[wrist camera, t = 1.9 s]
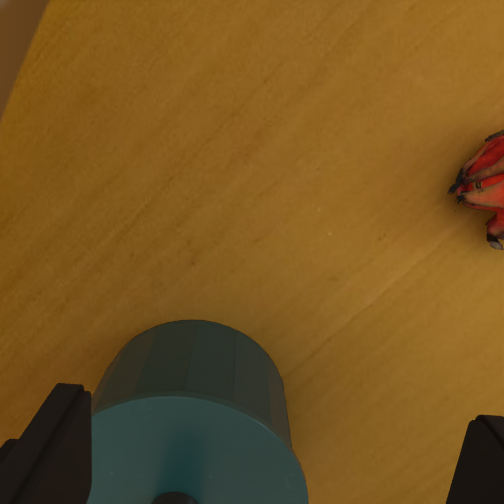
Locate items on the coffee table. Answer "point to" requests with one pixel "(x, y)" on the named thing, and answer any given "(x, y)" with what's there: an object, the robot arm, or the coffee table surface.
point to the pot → (198, 369)
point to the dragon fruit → (485, 185)
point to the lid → (189, 453)
